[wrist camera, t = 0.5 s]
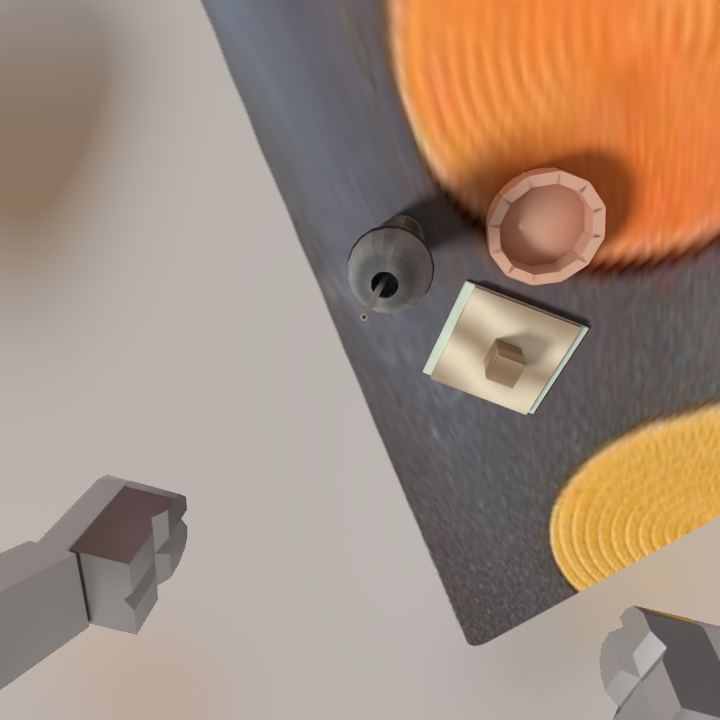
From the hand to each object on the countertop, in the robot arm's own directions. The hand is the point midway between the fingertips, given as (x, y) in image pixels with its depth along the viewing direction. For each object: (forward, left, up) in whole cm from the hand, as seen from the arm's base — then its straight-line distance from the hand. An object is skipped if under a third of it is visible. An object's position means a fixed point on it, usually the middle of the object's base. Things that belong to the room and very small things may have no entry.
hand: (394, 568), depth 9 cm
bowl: (-1, +10, -44) cm, 45 cm away
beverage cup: (+5, -2, -44) cm, 44 cm away
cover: (+13, +13, -44) cm, 47 cm away
